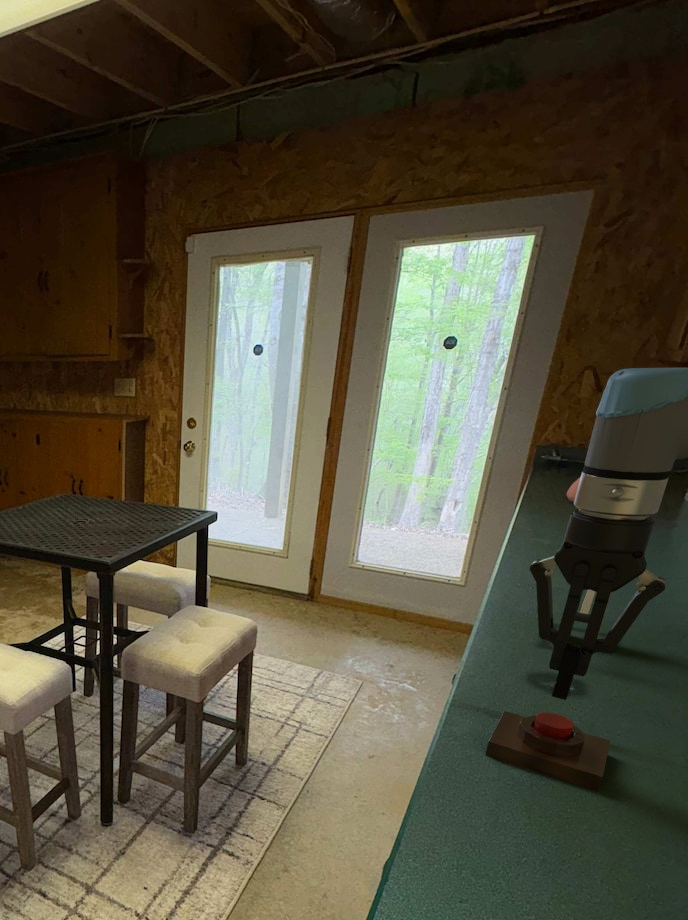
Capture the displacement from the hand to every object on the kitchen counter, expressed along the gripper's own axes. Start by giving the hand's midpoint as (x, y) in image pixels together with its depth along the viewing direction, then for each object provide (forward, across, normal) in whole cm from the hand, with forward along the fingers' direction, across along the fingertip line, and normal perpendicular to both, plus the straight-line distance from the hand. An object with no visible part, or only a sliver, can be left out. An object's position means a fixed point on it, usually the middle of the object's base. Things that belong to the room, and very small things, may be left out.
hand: (560, 693), depth 80 cm
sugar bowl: (+9, -13, +180) cm, 181 cm away
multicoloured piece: (-1, -1, +37) cm, 37 cm away
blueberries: (+9, -1, +21) cm, 23 cm away
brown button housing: (+9, 0, 0) cm, 9 cm away
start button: (+6, 0, 0) cm, 6 cm away
